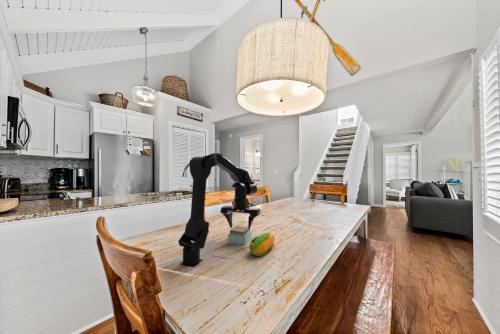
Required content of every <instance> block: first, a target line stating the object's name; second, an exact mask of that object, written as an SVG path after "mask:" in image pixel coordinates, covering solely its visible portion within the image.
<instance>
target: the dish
mask: <svg viewBox="0 0 500 334" xmlns="http://www.w3.org/2000/svg"><path fill="white" fill-rule="evenodd" d="M252 232H253V231H252V230H251V229H250V230H249V231H248V232H247V233H246V234H245V235H244V236H235V235H230V232H228V234H227V243H229V244H237V245H244V246H246V245H247V244H248V243H249V241H251V240H252V236H253V235H252Z"/></svg>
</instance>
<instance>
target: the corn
mask: <svg viewBox="0 0 500 334" xmlns="http://www.w3.org/2000/svg"><path fill="white" fill-rule="evenodd" d="M275 241H276V238H275V235H273V234H271V233H270V232H265V233H262V234H260V235H259V236H255V237H254V238H253V239H251V240H250V243H249V246H248V248H249V252H250V253H251V255H252V256H255V257H263V256H264V255H267V253H268V252H269V251H270V250H271V248H272V247H273V245H274V243H275Z"/></svg>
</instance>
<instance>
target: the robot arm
mask: <svg viewBox="0 0 500 334" xmlns="http://www.w3.org/2000/svg"><path fill="white" fill-rule="evenodd" d="M188 163H189V164H188V165H189V173H190V176H191V179H192V191H191V205H190V217H189V219H188V221H187V223H186V224H185V229H184V232H183V234H182V235H181V236H180V238H179V239H178V242H177V243H178V246H180V247H183V249H182V261H181V262H180V263H179V266H184V267H190V268H196V267H197V266H199V264H200V263H202V262H203V261H204V259H203V258H201V250H202V249H204V248H205V246H206V245H205V244H206V241H207V238H208V234H209V233H210V231H209V228H210V222H209V221H206V219H205V209H206V208H205V205H206V188H207V180H208V178H209V177H210V175H211V172H212V168H213V167H216V166H218V167H219V168H220V169H222V170H223V172H226V173H228V175H229V176H230V178H231V179H232V181H234V183H233V184H232V185H231V188H234V198H233V202H234V206H232V205H224V206H221V208H220V211H219V212H220V214H222V215H223V216H224V217H225V219H226V222H228V225H229V227H230V229H233V214H234V213H237V214H238V213H240V214H249V215H248V224H247V226H248V229H249V230H251V227H252V225H253V222H254V219H255V218H257V217H258V216H260V215H261V208H259V207H251V208H250V206H251V202H250V201H248V197H247V196H251V195H256V193H257V192H258V186H257V185H256V184H255V181H253V180H252V179H251V176H250V174H249V171H248V170H246V169H243V168H241V167H237V166H236V165H235V164H234V163H232V162H231V161H230V160H229V159H227V158H226V157H225V156H223V154H222V153H220V152H213V153H210V154H207V155H203V156H193V157H192V158H191V159H190V161H189V162H188Z"/></svg>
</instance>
